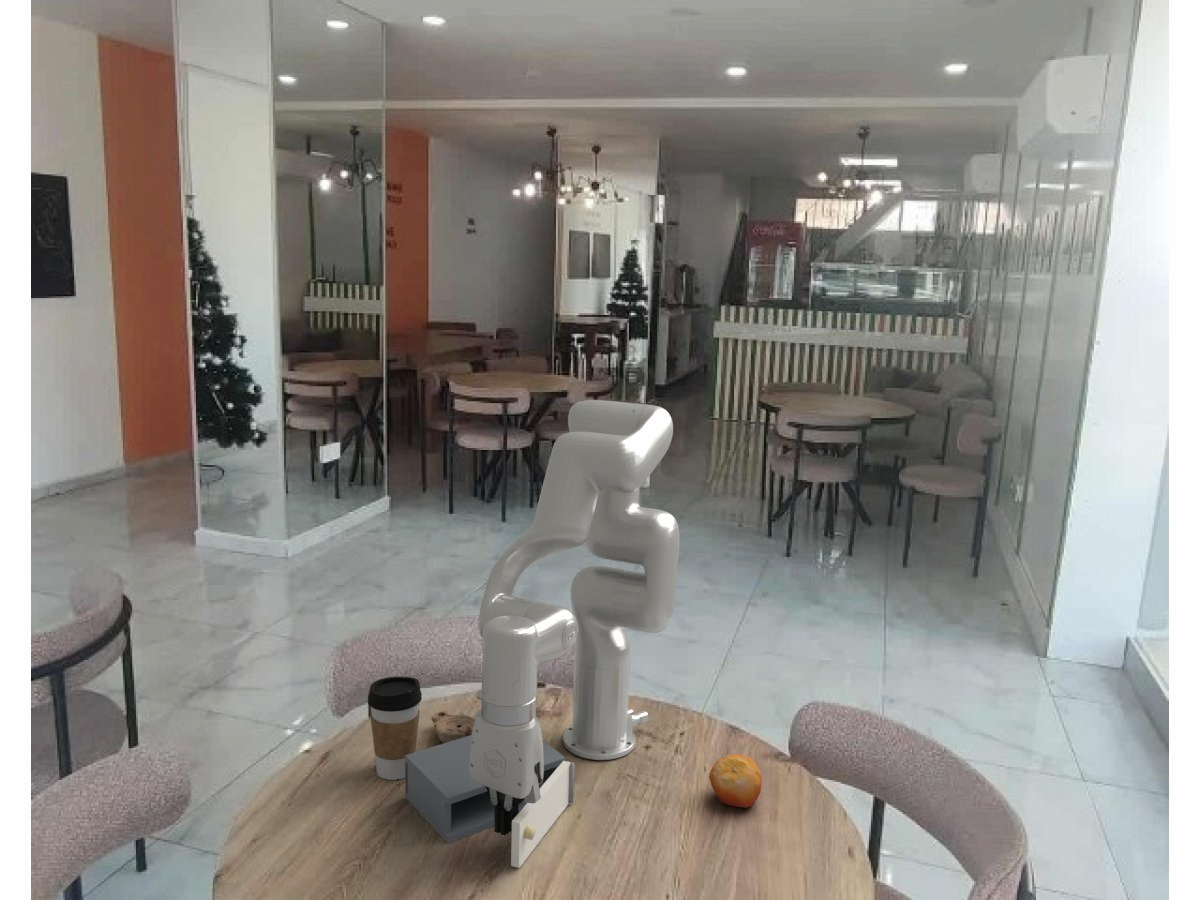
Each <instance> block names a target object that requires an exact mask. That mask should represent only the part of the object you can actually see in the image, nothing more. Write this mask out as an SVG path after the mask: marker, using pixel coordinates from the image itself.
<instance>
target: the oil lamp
mask: <svg viewBox="0 0 1200 900" xmlns="http://www.w3.org/2000/svg"><path fill="white" fill-rule="evenodd" d="M431 721H432V723H433V727H434V728H435V733H436V735H437V737H438V738H439V741H441V742H442V744H444V743H447V742H450V741H454V740H457V739H460V738H463V737H467V736H470V735H472V730H473V725H474V721H475V717H472V716H469V715H464V713H462V712H461V713H458V714H454V713H453V714H452V713H451V711H450V710H444V711H438V712H436V713H434V715H433V716H431Z"/></svg>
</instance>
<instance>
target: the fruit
mask: <svg viewBox="0 0 1200 900" xmlns="http://www.w3.org/2000/svg"><path fill="white" fill-rule="evenodd" d="M708 775H709V776H708V777H709V782H710V785H711V788H712V790H713V792H714V794H715V795H716V797H717V799H718V801H719V802H721V803H722V804H725V805H727V806H731V807H734V808H735V807H737V808H744V809H745V808H750V807H752V806H753V805H755V803H756V802H757V800H758V798H759V797H760V794H761V791H762V782H763V778H762V777H763V776H762V773H761V770H760V768H759V767H758V765H757V763H756V762H755V761H754V759H753V758H751V756H748V755H744V754H738V753H732V754H727V755H724V756H723V757H721V758H719V759H717V761H716V762H715V763H714V764H713V766H712V767H711V769H710V772H709V774H708Z"/></svg>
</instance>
